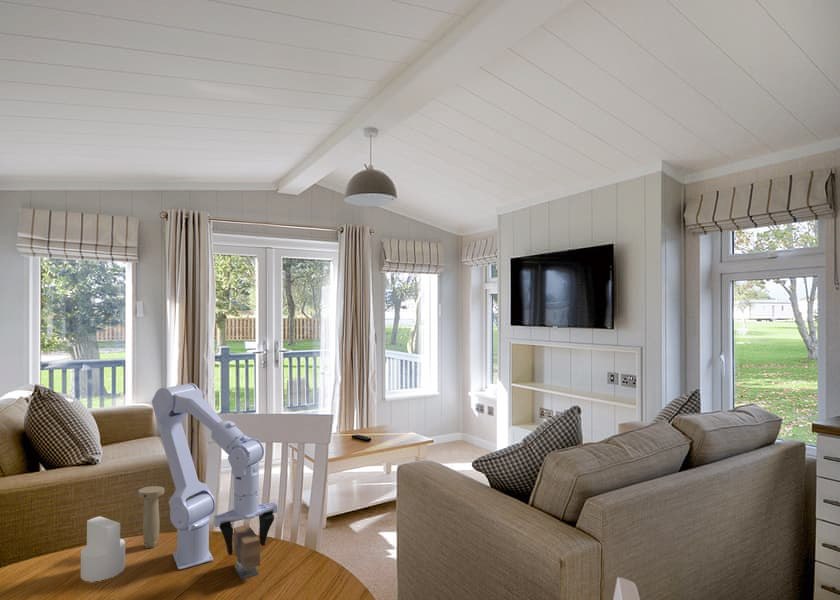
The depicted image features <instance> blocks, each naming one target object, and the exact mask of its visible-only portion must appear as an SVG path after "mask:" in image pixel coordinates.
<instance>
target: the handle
mask: <svg viewBox="0 0 840 600" xmlns="http://www.w3.org/2000/svg"><path fill="white" fill-rule="evenodd" d="M164 494H165V487H163V486H159V485H153V486H145V487H142V488H140V489H138V491H137V496H138V497H139V498H141V499H143V503H144V504H143V517H142V536H143V545H144V547H145V549H151V548H155V547H156V546H158V545H159V536H160V527H161V526H160V524H161V523H160V522H161V520H160V511H159V509H160V507H159V498H160V497H161V496H163V495H164Z"/></svg>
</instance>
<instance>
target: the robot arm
mask: <svg viewBox="0 0 840 600" xmlns="http://www.w3.org/2000/svg"><path fill="white" fill-rule="evenodd" d="M151 404H152V408H153V411H154V415H155V419H156V423H157V424H156V425H157V428H158V432H159V435H160V438H161V441H162V446H163V449H164V453H165V456H166V460H167V463H168V467H169V471H170V473H171V477H172V480H173V484H174V487H175V491H174V492H173V494H172V495H171V497H170V499H169V500H168V504H169V505H168V506H169V508H170V509H169V518H170V522H171V524H172V525H173V527H174V528H175V529H176V551H173V552H172V556H173V559H174V562H175V564H176V567H177V569H178V570H180V571H181V570H183V569H188V568H190V567H194V566H197V565H202V564H205V563H209V562H212V561H213V560H214V557H213V555H212V553H211V551H210V545H209V543H210V542H209V541H210V540H209V539H210V538H209V537H210V533H209V532H210V527H209V526H210V523H209V522H210V520H211V519H212V514H214V512H215V510H216V508H217V507H216V506H217V502H216V498H215V496H214V494H213V493H212V492H211V491H210V488H209V485H208V484H206V483H203V482H202V481H200V480H199V478H198V474H197V471H196V468H195V463H194V460H193V457H192V453H191V450H190V446H189V443H188V440H187V437H186V433H185V430H184V426H183V421H184V419H185V418H186V416H187V415H188V414H191V415H192V417H194V418H195V419H197V421H199V423H201V424H202V425H204V426H205V427H206V428H207V429H208V430H210V431H211V436H210V437H211V439H212V440H213V442H215V443H216V444H217V445H218V446H219V448H220V449H222V450H223V451H224V452H225V453H226V454H227V460H228V463H229V464H230V467H231V470H232V471H231V472H232V475H233V509H232V510H229V511H226V512H223V513H221V514H218V515H214V516H213V525H214V527H215V528H218V527H219V529H220V531H221V534H222V536H223V539H224V542H225V546H226V552H227V554H228V556H232V555H233V553H234V547H233V537H234V527H233V525H232V524H233V523H234V522H239V521H243V520H251V519H255V518H256V517H258V521H259V536H258V538H259V539H260V546H261V547H264V546H266V541H267V538H268V533H269V530H270V529H271V526H272V524H273V523H274V521H275V515H274V514H276V513H278V504H277V502H268V503H260V461H261V460H262V459H263V458H264V454H265V448H264V446H263V444H262V442H260V440H259V439H257V438H251V437H249V436H247V435H246V434H245V433H243V432H242V430H241V429H240V428H238V427H237V425H236V423H235V422H234V421H231V420H223V419H222V418H221V417H220V416H219V415H218V413H217V412H216V411H215V410H214V408H213V407H211V405H210V404H209V403H208V401H206V399H204V397H203V391H202V390H201V389H200V388H198V386H197V385H196V384H195V383H193V382H187V383H183V384H180V385H174V386H169V387H160V388H158V389H157V390H156V392H155V393H154V396H153V398H152V400H151Z"/></svg>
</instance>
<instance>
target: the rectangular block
mask: <svg viewBox="0 0 840 600" xmlns="http://www.w3.org/2000/svg"><path fill="white" fill-rule="evenodd" d="M233 553H234V555H235V557H236V558H237V559H238V560H239V562H240V563H241V565H242V566H243V568H244V570H246V569H250V568H253V567H256V568H257V567H260V566H261V544H260V539H259V536H258V535H257V534H256V533H255V531H254V530H253V529H252V527H251V526H250V525H249V524H244V525H239V526H237V527H233Z"/></svg>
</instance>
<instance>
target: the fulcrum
mask: <svg viewBox="0 0 840 600" xmlns="http://www.w3.org/2000/svg"><path fill="white" fill-rule="evenodd" d="M234 570H235V571H236V573H237V575H238V576H240V577H239V578H240V580H243V579H246V578H249V577H250V576H251V577H253V575H254V576H257V575H259V570H258V569H257V567H253V568H250V569H246V570H244V568H243V566H242V565H241V563H240V562H239V560H238V558H237V559H236V565H234Z"/></svg>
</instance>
